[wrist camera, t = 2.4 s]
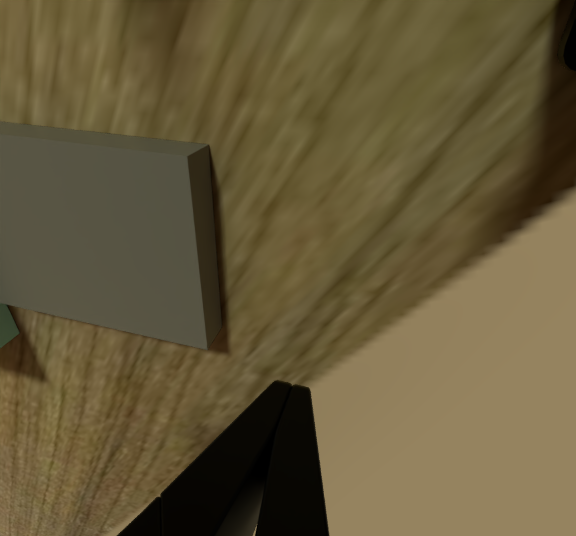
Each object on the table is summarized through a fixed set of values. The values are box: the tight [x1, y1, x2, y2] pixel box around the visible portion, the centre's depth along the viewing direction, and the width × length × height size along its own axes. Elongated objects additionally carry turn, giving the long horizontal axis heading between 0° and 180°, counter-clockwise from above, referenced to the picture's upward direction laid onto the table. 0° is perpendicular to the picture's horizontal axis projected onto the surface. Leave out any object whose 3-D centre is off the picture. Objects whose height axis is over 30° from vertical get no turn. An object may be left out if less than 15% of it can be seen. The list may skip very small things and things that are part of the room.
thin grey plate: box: [0, 122, 222, 350], centre depth 15 cm, size 11×8×2 cm
